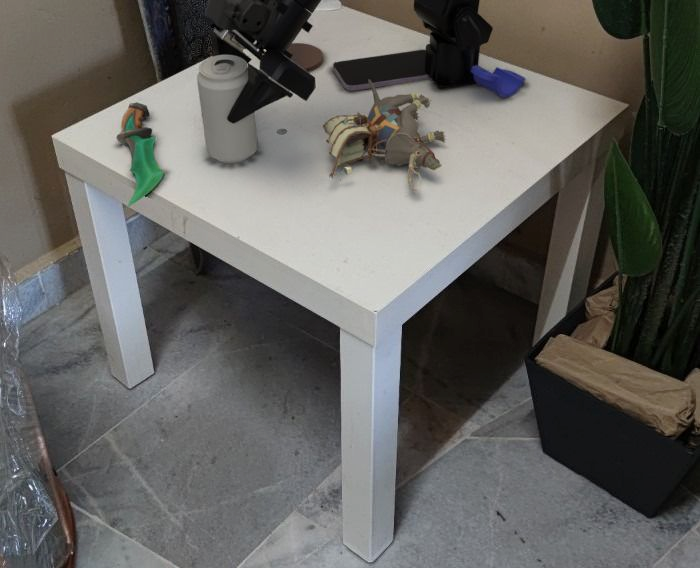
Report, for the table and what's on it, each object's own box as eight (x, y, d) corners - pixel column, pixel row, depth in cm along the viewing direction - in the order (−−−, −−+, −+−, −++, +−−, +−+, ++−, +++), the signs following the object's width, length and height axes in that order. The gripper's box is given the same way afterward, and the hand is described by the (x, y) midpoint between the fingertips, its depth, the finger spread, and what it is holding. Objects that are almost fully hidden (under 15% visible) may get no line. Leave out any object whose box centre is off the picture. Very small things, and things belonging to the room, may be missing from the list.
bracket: (532, 81, 125) (525, 99, 127) (507, 68, 128) (500, 86, 129) (490, 77, 119) (483, 95, 120) (465, 63, 122) (458, 81, 123)
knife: (151, 110, 122) (112, 111, 121) (150, 98, 121) (111, 100, 119) (170, 210, 107) (126, 213, 106) (169, 197, 106) (125, 201, 105)
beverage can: (262, 139, 117) (254, 53, 109) (253, 167, 112) (244, 80, 104) (213, 136, 117) (202, 51, 109) (202, 165, 112) (189, 77, 104)
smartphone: (448, 72, 128) (346, 87, 124) (447, 79, 129) (346, 94, 125) (428, 48, 133) (330, 62, 130) (428, 55, 134) (330, 69, 130)
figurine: (483, 138, 107) (359, 183, 100) (478, 179, 111) (358, 225, 105) (392, 58, 119) (276, 94, 113) (390, 97, 123) (278, 134, 117)
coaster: (315, 43, 136) (315, 39, 135) (329, 68, 130) (329, 64, 130) (262, 50, 134) (262, 47, 134) (274, 76, 129) (274, 73, 128)
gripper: (206, -65, 106) (134, 47, 109) (286, -8, 95) (202, 116, 98) (270, -16, 115) (201, 87, 118) (351, 42, 103) (272, 155, 106)
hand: (217, 109), depth 110 cm, fingers closed on beverage can, 6 cm apart
